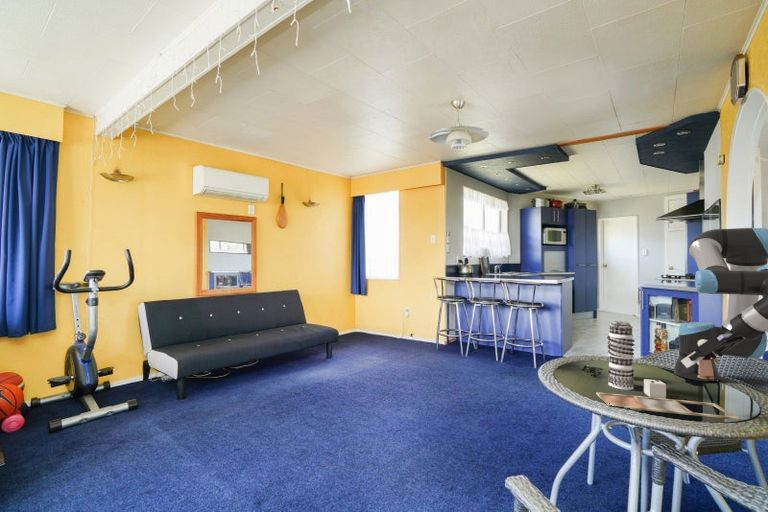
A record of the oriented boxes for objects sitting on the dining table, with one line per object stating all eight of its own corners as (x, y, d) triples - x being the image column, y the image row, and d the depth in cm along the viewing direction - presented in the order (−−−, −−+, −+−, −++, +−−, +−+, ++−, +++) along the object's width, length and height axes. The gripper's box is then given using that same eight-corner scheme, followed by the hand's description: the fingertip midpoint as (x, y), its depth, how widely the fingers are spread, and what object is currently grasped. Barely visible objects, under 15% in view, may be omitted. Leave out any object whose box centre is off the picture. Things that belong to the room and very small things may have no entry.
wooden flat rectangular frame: (714, 405, 125) (714, 403, 125) (739, 420, 113) (739, 418, 113) (596, 393, 135) (596, 392, 135) (607, 406, 122) (607, 404, 122)
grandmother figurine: (710, 375, 123) (709, 338, 123) (721, 379, 119) (720, 340, 119) (688, 376, 123) (687, 338, 123) (698, 380, 119) (697, 340, 119)
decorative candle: (611, 388, 141) (611, 323, 141) (604, 381, 150) (604, 319, 150) (638, 391, 138) (638, 324, 139) (629, 383, 147) (629, 321, 148)
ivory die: (659, 393, 136) (659, 378, 136) (666, 398, 131) (665, 382, 131) (643, 392, 137) (643, 377, 137) (649, 397, 132) (649, 381, 132)
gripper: (746, 335, 104) (681, 376, 118) (782, 331, 111) (716, 370, 126) (723, 314, 109) (664, 356, 123) (759, 311, 116) (698, 351, 131)
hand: (690, 363), depth 124 cm, fingers closed on grandmother figurine, 6 cm apart
